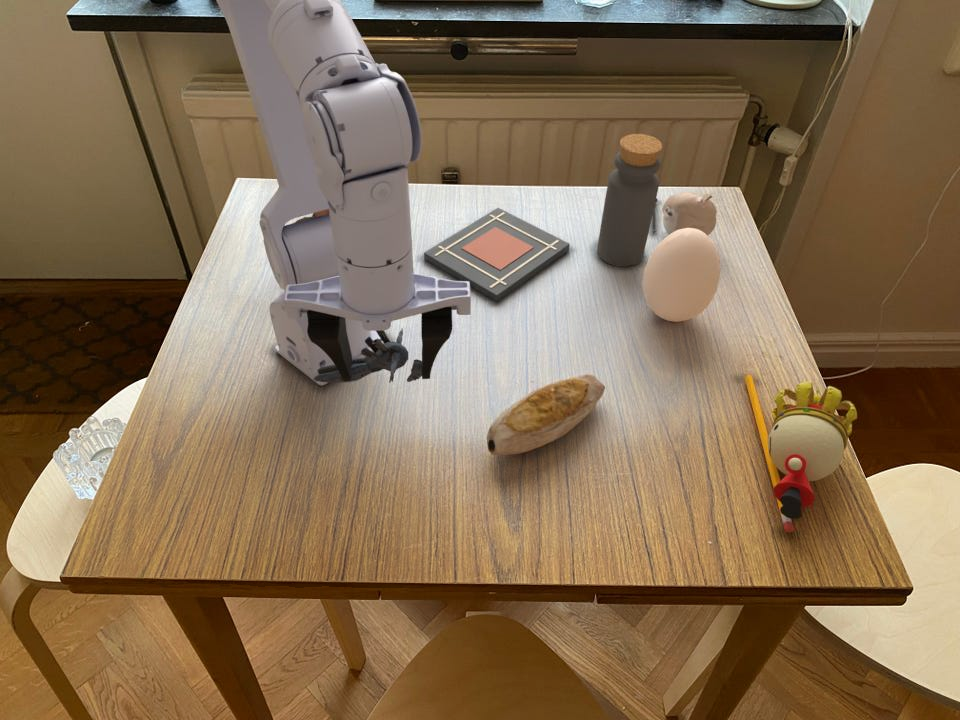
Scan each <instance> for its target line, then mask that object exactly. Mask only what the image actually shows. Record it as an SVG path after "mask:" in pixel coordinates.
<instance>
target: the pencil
mask: <svg viewBox="0 0 960 720" xmlns="http://www.w3.org/2000/svg"><path fill="white" fill-rule="evenodd" d="M744 381H745V384H746V388H747V392H748V396H749V399H750V403H751V407H752V410H753V414H754V419H755V422H756V426H757V428H758V433H759V437H760V441H761V445H762V449H763V451H764V457H765V460H766V464H767V468H768V471H769V475H770V480H771V483H772V486H773V488H774V487H775V486H776V485H777V484H778V483H779V482H780V481H781V477H780V473H779V469H778V468H777V467H776V466H775V464H774V463H773V461H772V459H771V457H770V455H769V451H768V439H769V434H768V430H767V427H766V426H767V425H766V422H765V418H764V415H763V412H762V408H761V404H760V400H759V397H758V393H757V389H756V386H755V382H754V379H753V376H752V375H751V374H747V375H746V376H744ZM775 499H776V503H777V505H778V510H779V513H780V518H781V521H782V525H783V529H784V532H785V533H792V532H794V531H795V529H794V525H793V521H792V519H790V518H788V517H786V516H784V515H783V514H782V513H781V511H780V508H781V507H782V506H783V505H782V504H781V502H780V501H779V500H778V499H777V498H776V497H775Z"/></svg>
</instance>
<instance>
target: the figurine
mask: <svg viewBox="0 0 960 720" xmlns="http://www.w3.org/2000/svg"><path fill="white" fill-rule="evenodd" d="M376 332H377V334H378V335H379V337H380V338H381V339H382V341H383V343H384V344H383V343H382V341H380V340H379V339H375V340H372V339H371V337H368V338H367V339H366V340H365V343H366V344H367V345H368V346H369V347H370V348H371V349H372V350H373V351H374V352H372V351H370V350H369V349H367V348H364V349H363V350H361V354H362V355H364V356H366V357H365V358H358V359H354V360H352V363H353V365H352V366H351V376H352V377H351V381H343V379H342V377H341V375H340V373H339V371H338V369H337V367H336V366H335V365H329V366H323V367H321V368H320V369H318V374H319V375H317V376H316V377H314V380H315V381H319V382H328V383H351V382H357V381H359V380H362V379H363V378H365V377H367V376H369V375H370V374H374V373H377V372H380V371H382V370H385V371H388V372H389V373H390V376H389V379H388V380H389V381H388V384H390V383H393V382H394V379H395V373H396V372H397V371H398V369H401V368H402V367H404V366H406V363H407V362H408V360H409V350H408V349H407V347H405V346H404V345H403V344H402V342H403V335H404V330H403V328H402V327H401V329H400V331H399V332H398V335H397V337H396V341H391V339H390V337H389V335H388V334H387V333H386V330H382V331H376ZM314 374H315V372H314ZM420 378H422V359H421V360H420V359H413V362H412V367H411V369H410V374H409V375H408V377H407V378H406V382H407V383H411V382H413V381H418V380H419V379H420ZM315 381H314V382H315Z"/></svg>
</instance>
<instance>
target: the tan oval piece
mask: <svg viewBox="0 0 960 720" xmlns="http://www.w3.org/2000/svg"><path fill="white" fill-rule="evenodd" d="M605 389H606V386H605V385H604V383H603V382H601V381H600V380H598V378H597V377H596V376H595V375H594V374H583V375H577V376H574V377H570V378H566V379H561V380H558V381H555V382H552V383H549V384H547V385H544V386H542V387H539V388H536V389H535V390H532V391H531V392H529V393H528V394H527V395H525V396H523V397H522V398H520V399H519V400H517V401H516V402H514V403H513V404H511V405H510V406H509V407H508V408H506V409H504V410H503V411H502V412H501V413H500V414H499V415H498V416H497V418H496V419H494V421H493V422H492V424H491V425H490V427H489V429H488V431H487V435H486V444H487V450H488V452H489V453H490V454H491V455H492V456H495V457H498V456H504V455H505V456H508V455H518V454H524V453H527V452H530V451H532V450H534V449H535V450H536V449H538V448H541V447H543V446H545V445H547V444H551V443H552V442H554V441H557V440H558V439H560V438H562V437H564V435H566V434H568V433H569V432H570V431H572V430H573V429H574V428H575V427H576V426H577V425H579V424H580V423H581V422H582V421H583V420H584V419H585V418H586V417H587V416H588V415H589V414H590V413H591V412H592V410H593V409H595V407H596V406H597V404H598V403H599V401H601V398H602V397H603V395H604V392H605Z"/></svg>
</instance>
